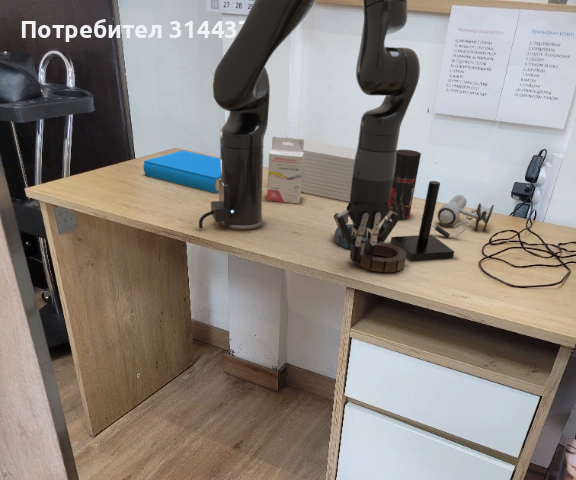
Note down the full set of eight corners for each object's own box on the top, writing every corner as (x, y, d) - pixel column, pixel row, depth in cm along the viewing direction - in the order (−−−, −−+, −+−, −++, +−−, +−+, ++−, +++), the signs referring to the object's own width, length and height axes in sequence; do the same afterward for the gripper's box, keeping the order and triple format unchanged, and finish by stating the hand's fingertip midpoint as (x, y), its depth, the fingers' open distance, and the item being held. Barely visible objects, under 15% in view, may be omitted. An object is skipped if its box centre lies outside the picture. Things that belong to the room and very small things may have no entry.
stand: (410, 261, 115) (424, 190, 107) (390, 243, 123) (401, 176, 114) (452, 258, 118) (469, 189, 109) (430, 240, 125) (444, 174, 117)
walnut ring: (366, 273, 108) (367, 263, 106) (347, 253, 116) (348, 243, 114) (413, 270, 110) (415, 259, 109) (391, 250, 118) (393, 240, 117)
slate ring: (344, 252, 117) (346, 242, 116) (328, 234, 125) (329, 225, 124) (388, 249, 120) (390, 239, 119) (369, 232, 128) (371, 223, 127)
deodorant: (409, 220, 136) (420, 156, 127) (384, 218, 137) (394, 154, 128) (409, 213, 141) (421, 151, 132) (386, 210, 141) (396, 148, 133)
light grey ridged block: (392, 198, 150) (399, 156, 144) (379, 208, 143) (385, 164, 136) (288, 177, 162) (290, 137, 155) (271, 185, 154) (272, 144, 147)
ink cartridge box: (266, 201, 143) (268, 140, 134) (269, 195, 147) (271, 135, 138) (299, 203, 142) (303, 142, 134) (301, 198, 146) (305, 138, 138)
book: (181, 150, 165) (251, 163, 155) (182, 165, 167) (251, 179, 158) (141, 161, 153) (215, 176, 143) (143, 177, 155) (215, 193, 145)
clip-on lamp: (466, 256, 127) (494, 219, 137) (474, 232, 122) (502, 196, 132) (419, 239, 131) (449, 205, 141) (425, 215, 126) (455, 181, 136)
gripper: (398, 167, 106) (384, 252, 116) (331, 168, 103) (322, 256, 113) (416, 178, 101) (399, 267, 111) (345, 180, 97) (335, 271, 107)
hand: (360, 261), depth 112 cm, fingers closed on walnut ring, 2 cm apart
